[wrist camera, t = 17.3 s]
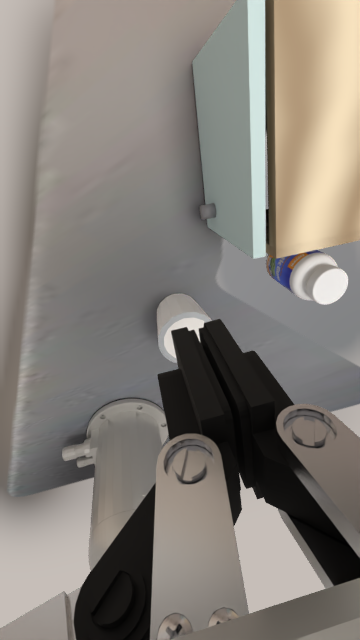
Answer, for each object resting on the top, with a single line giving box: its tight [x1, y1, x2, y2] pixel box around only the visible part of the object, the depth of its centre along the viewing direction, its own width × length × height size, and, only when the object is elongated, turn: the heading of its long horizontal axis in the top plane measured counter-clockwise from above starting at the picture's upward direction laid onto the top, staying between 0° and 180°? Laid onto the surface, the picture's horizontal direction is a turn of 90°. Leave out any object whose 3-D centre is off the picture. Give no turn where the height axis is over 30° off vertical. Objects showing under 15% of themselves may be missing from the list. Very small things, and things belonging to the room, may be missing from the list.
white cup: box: [157, 293, 212, 363], centre depth 37 cm, size 7×7×7 cm
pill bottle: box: [266, 250, 348, 304], centre depth 35 cm, size 5×5×10 cm
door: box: [192, 0, 266, 259], centre depth 25 cm, size 2×15×14 cm, turn 8°
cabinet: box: [265, 0, 360, 259], centre depth 26 cm, size 14×16×14 cm
